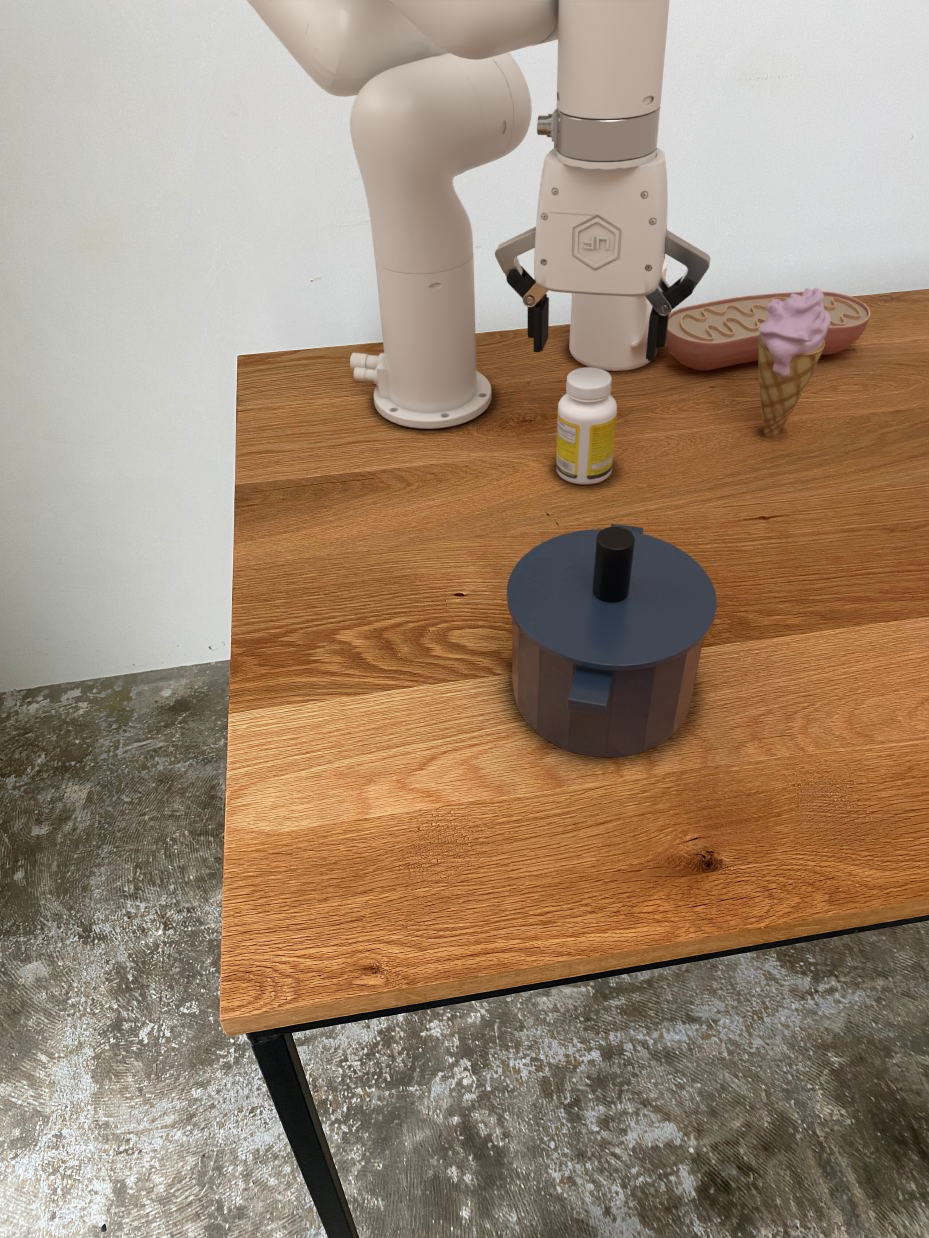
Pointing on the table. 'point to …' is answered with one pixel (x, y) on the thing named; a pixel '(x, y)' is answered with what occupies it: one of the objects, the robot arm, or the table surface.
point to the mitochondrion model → (750, 328)
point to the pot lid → (611, 599)
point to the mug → (610, 330)
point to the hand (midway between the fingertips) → (595, 349)
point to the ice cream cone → (789, 354)
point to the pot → (601, 699)
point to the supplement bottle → (586, 427)
